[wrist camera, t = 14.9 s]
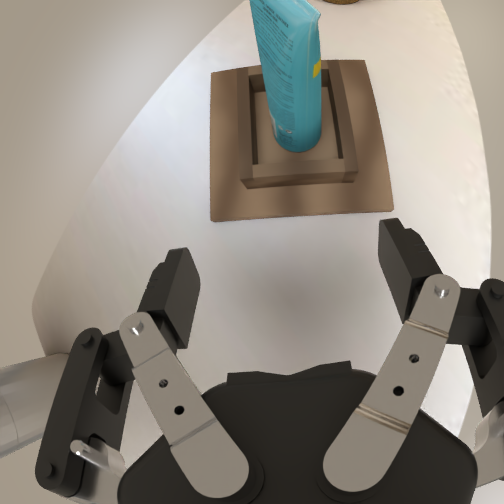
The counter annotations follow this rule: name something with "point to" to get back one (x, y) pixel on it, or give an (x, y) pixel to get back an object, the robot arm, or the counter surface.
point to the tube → (290, 69)
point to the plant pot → (341, 1)
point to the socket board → (296, 163)
